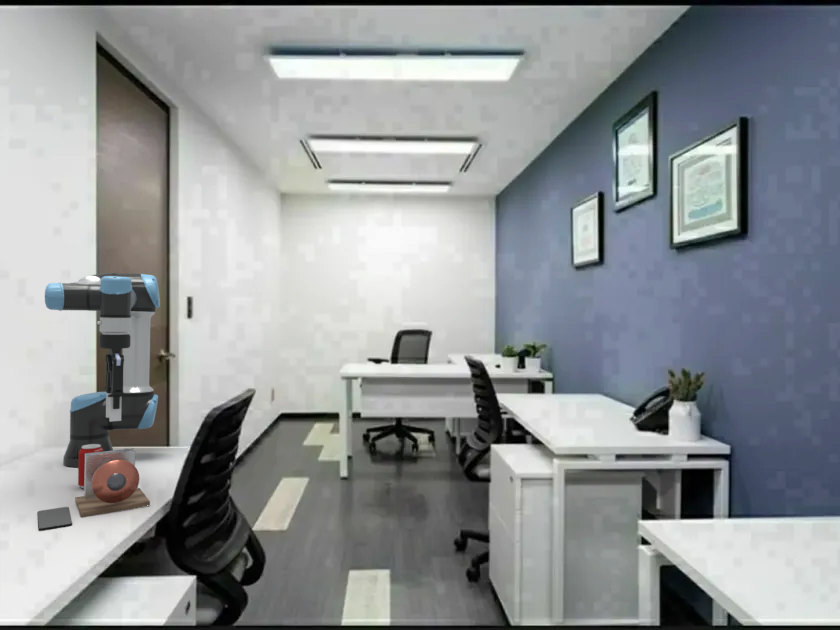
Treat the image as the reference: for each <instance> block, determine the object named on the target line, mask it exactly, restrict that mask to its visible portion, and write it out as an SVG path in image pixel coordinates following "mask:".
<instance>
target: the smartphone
mask: <svg viewBox="0 0 840 630" xmlns="http://www.w3.org/2000/svg"><path fill="white" fill-rule="evenodd" d="M71 526H73V521H72V517H71V513H70V508H69V506H63V507H56V508H49V509H43V510H42V509H41V510H38V511H37V527H38V530H37V531H39V532H43V531H50V530H55V529H56V530H57V529H60V528H61V529H62V528H67V527H71Z"/></svg>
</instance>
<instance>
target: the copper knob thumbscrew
mask: <svg viewBox="0 0 840 630" xmlns="http://www.w3.org/2000/svg"><path fill="white" fill-rule="evenodd" d="M139 484H140V473H139V471H138V469H137V467H136V465H135V466H134V465H133V464H132V463H131V462H129V461H127V460H124V459H113V460H110V461H107V462H105V463H104V464H102V465H101V466H100V467H99V468H98V469H97V470H96V471H95V473H94V475H93V477H92V482H91V485H92V489H93V492H94V494H95V495H96V497H97V498H98V499H100V500H101V501H103V502H107V503H117V502H121V501H123V500H125V499H127V498H129V497H130V496H131V495H132V494H133V493H134V492H135V490H136V489H137V488H139V487H138V486H139Z"/></svg>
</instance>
